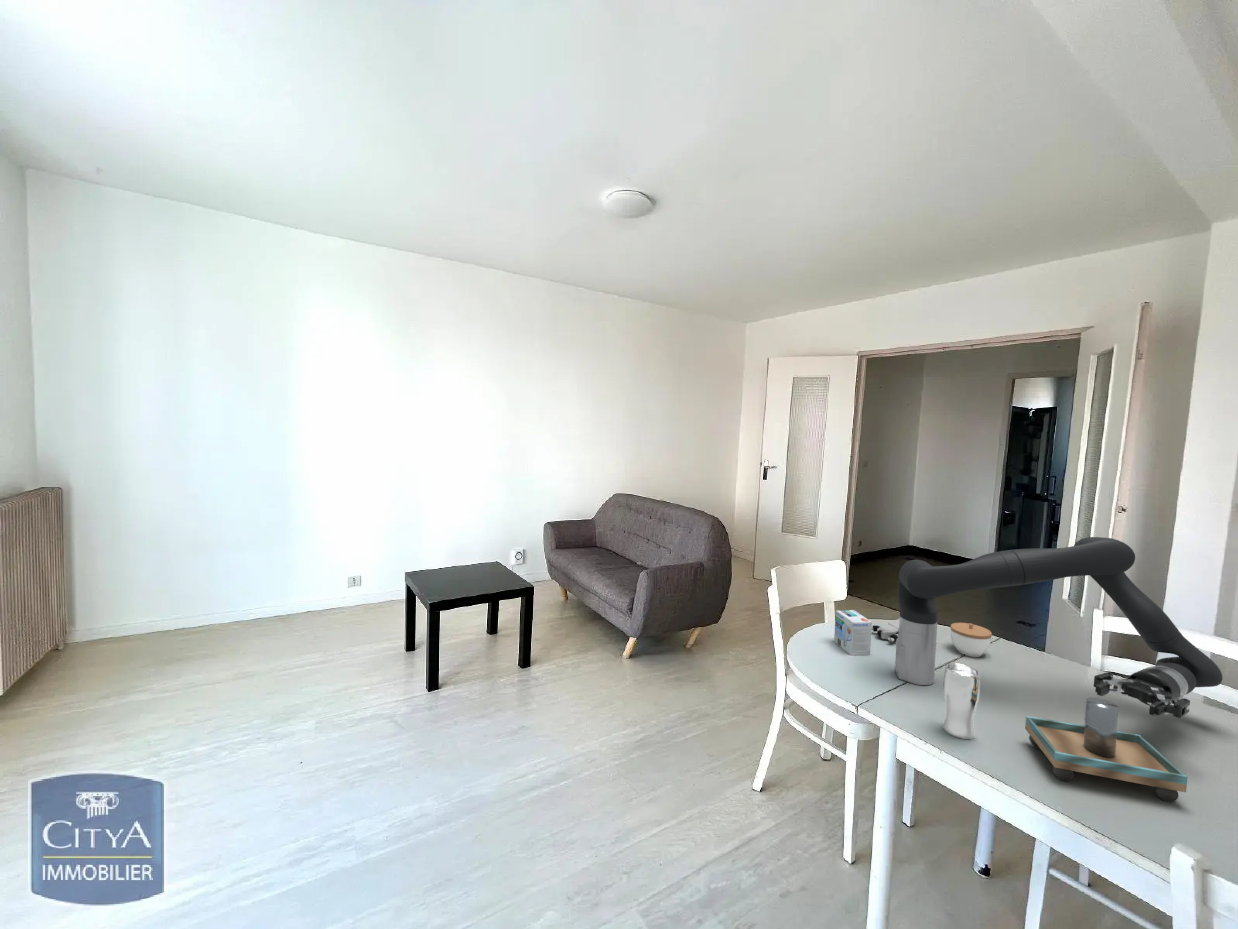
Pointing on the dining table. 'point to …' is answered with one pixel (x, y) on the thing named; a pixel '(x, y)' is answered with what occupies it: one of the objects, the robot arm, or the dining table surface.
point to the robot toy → (888, 630)
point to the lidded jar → (970, 639)
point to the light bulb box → (853, 632)
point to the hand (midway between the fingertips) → (1124, 700)
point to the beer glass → (961, 699)
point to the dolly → (1129, 763)
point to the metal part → (1100, 727)
